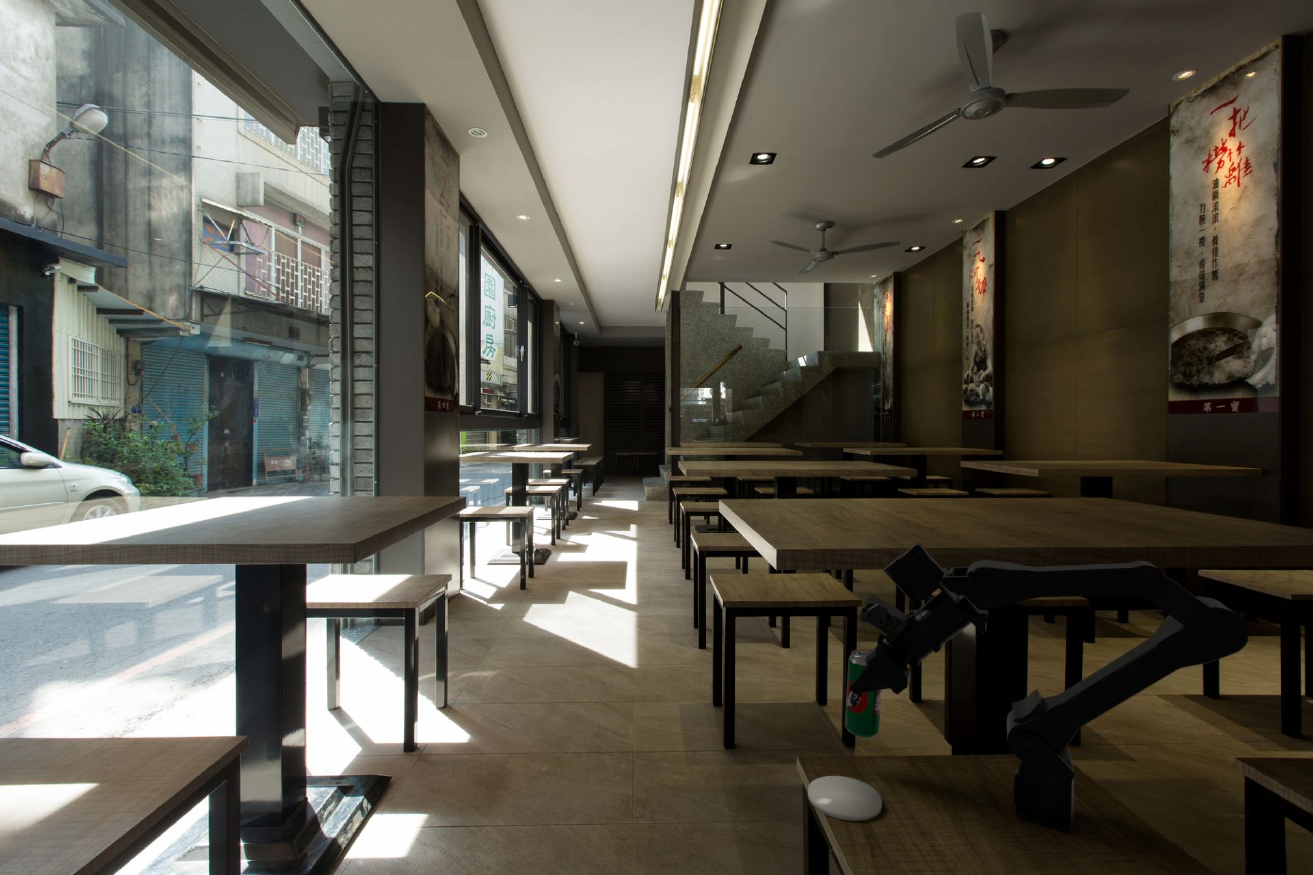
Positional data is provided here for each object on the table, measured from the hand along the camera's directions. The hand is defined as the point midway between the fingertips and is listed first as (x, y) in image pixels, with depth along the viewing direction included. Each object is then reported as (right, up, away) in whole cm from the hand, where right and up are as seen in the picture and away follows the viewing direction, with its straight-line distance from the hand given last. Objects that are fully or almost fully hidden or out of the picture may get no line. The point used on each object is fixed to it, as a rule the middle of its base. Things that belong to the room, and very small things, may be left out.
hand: (855, 685), depth 103 cm
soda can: (+1, -7, 0) cm, 7 cm away
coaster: (-4, -13, -9) cm, 16 cm away
